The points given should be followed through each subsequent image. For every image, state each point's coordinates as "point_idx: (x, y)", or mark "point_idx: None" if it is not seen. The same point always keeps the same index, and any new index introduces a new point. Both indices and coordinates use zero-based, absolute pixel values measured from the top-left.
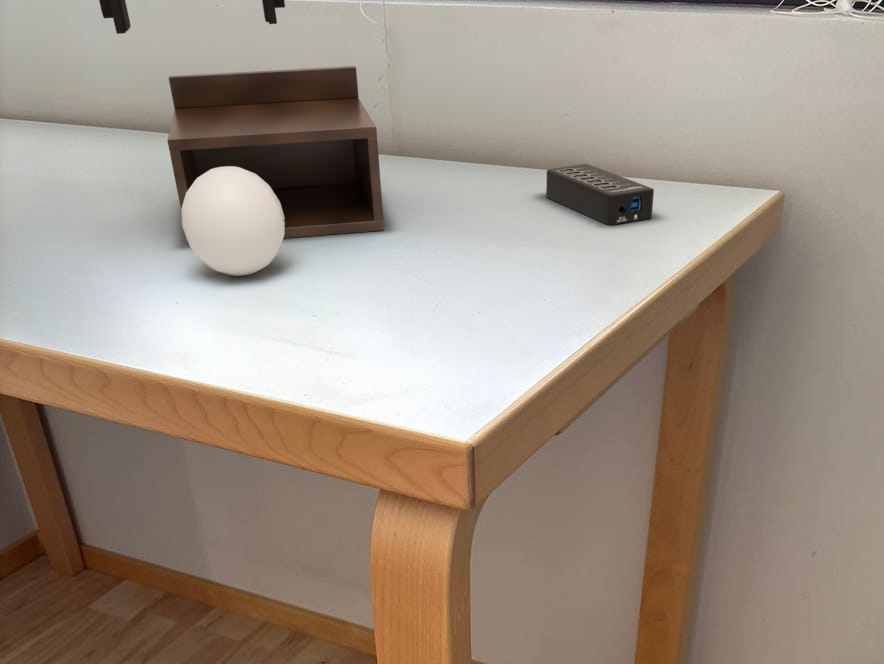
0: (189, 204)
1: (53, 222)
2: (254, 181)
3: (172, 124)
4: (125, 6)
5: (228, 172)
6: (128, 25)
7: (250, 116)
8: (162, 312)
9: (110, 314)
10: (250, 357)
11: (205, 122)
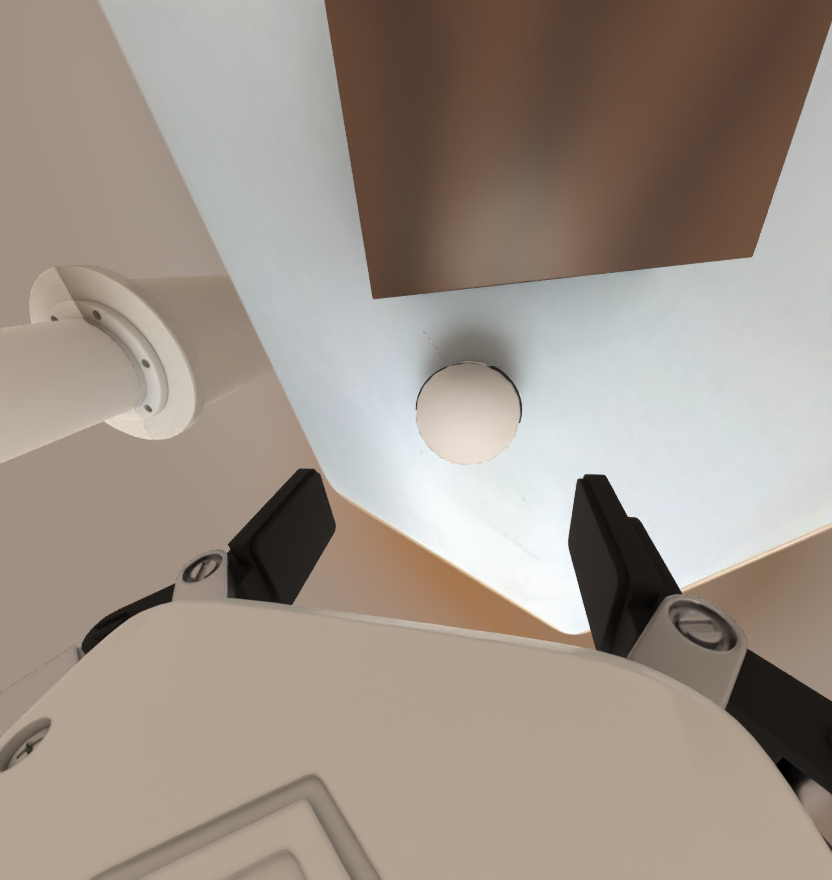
0: (426, 443)
1: (208, 127)
2: (495, 448)
3: (349, 139)
4: (308, 506)
5: (467, 450)
6: (325, 502)
7: (505, 48)
8: (413, 466)
9: (378, 461)
10: (477, 544)
11: (410, 128)
